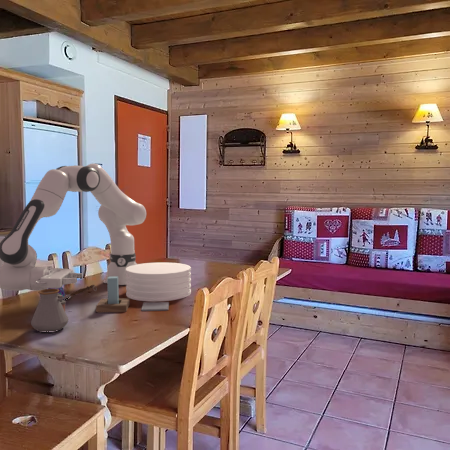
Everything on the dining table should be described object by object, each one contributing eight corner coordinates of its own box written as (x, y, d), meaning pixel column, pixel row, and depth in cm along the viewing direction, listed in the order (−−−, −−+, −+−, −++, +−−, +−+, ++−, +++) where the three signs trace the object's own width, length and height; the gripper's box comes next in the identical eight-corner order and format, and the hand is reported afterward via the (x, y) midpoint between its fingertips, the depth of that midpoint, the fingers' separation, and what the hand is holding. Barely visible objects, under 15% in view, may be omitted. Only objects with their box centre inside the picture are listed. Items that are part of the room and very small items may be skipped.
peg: (109, 307, 178) (108, 276, 176) (118, 306, 178) (118, 276, 177) (108, 309, 174) (107, 278, 173) (117, 309, 174) (117, 278, 173)
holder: (101, 304, 181) (101, 298, 181) (129, 304, 182) (129, 298, 182) (96, 312, 170) (96, 306, 170) (126, 311, 171) (126, 305, 171)
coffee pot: (24, 334, 145) (22, 288, 143) (40, 323, 156) (39, 280, 155) (91, 335, 144) (90, 288, 142) (102, 324, 155) (101, 281, 154)
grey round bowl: (76, 299, 191) (76, 286, 190) (49, 304, 182) (48, 291, 181) (62, 294, 199) (61, 282, 198) (34, 299, 190) (34, 287, 189)
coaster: (143, 304, 182) (143, 302, 182) (168, 303, 183) (168, 302, 183) (141, 310, 172) (141, 309, 172) (168, 310, 173) (168, 308, 173)
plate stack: (154, 284, 219) (154, 260, 218) (203, 291, 205) (203, 265, 204) (112, 296, 195) (111, 269, 194) (164, 305, 181) (163, 276, 180)
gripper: (32, 275, 161) (72, 274, 163) (49, 265, 182) (85, 265, 183) (33, 292, 162) (73, 292, 163) (49, 281, 182) (85, 281, 184)
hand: (79, 278), depth 173 cm, fingers open, 8 cm apart
